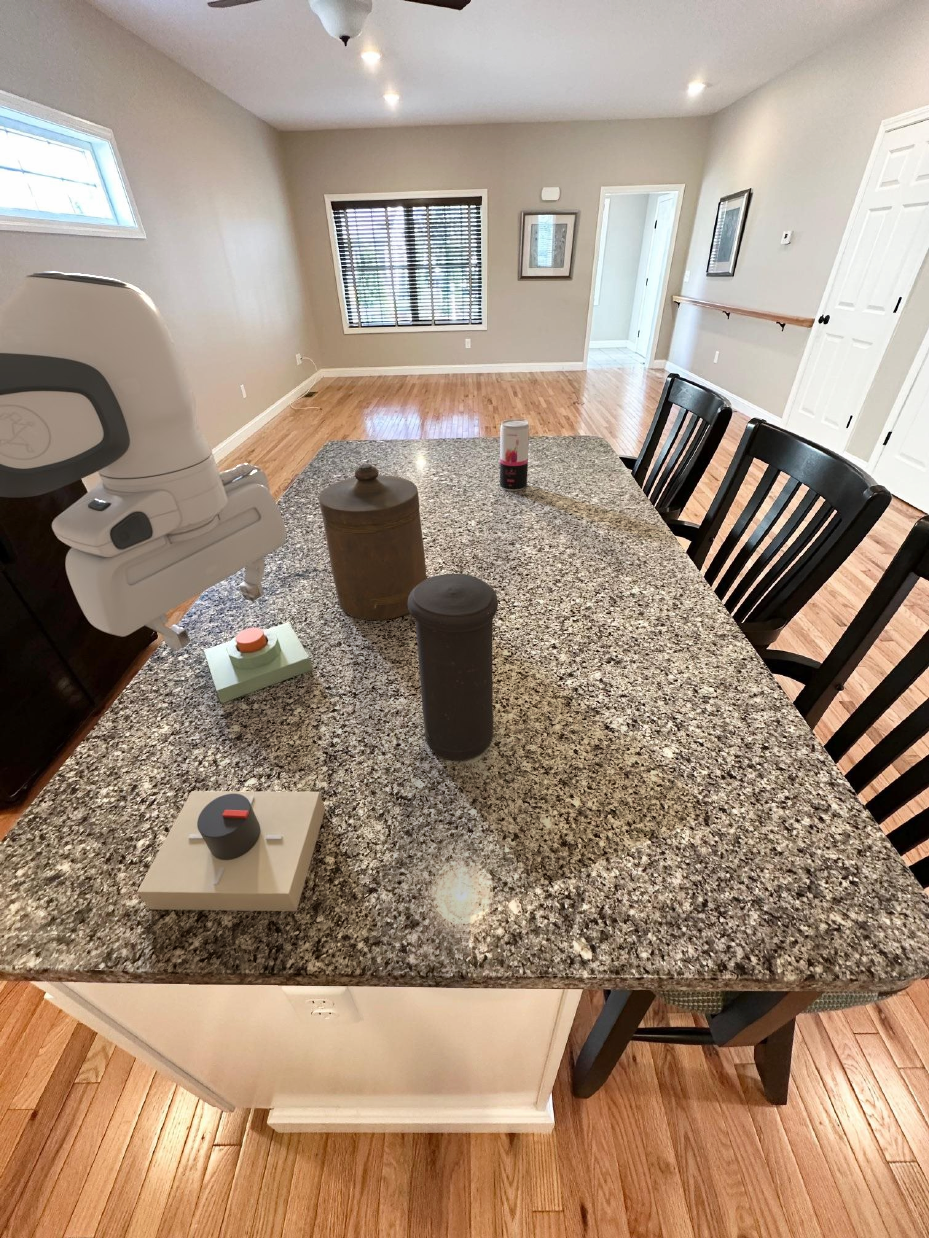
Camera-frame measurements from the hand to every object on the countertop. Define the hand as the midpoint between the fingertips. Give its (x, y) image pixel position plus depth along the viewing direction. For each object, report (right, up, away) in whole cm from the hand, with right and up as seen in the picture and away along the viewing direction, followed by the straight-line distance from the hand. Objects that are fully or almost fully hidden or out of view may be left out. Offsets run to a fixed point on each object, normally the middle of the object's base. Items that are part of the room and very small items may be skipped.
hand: (219, 619), depth 53 cm
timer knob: (+5, -20, -6) cm, 21 cm away
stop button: (-3, -4, +16) cm, 17 cm away
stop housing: (-3, -6, +18) cm, 20 cm away
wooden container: (+12, +4, +33) cm, 35 cm away
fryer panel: (+5, -22, -5) cm, 23 cm away
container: (+25, -14, +7) cm, 29 cm away
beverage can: (+37, +32, +72) cm, 87 cm away
